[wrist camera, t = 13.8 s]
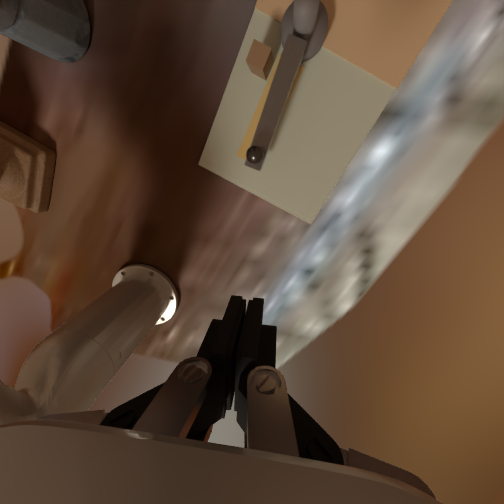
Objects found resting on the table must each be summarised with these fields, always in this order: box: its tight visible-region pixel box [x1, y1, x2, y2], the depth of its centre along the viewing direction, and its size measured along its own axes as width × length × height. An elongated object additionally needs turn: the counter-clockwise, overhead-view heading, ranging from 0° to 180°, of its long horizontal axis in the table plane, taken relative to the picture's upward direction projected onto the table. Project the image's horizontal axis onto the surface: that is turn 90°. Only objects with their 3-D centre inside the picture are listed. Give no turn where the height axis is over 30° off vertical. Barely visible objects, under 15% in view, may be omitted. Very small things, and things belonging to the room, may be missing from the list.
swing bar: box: [244, 33, 307, 171], centre depth 26 cm, size 13×2×4 cm, turn 160°
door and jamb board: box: [198, 0, 453, 224], centre depth 24 cm, size 34×18×8 cm, turn 154°
